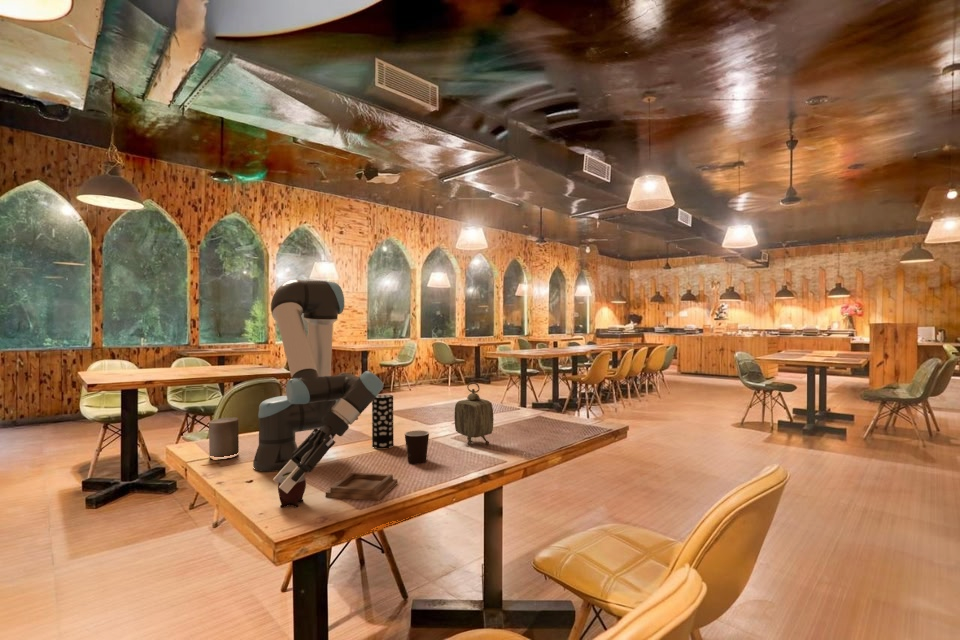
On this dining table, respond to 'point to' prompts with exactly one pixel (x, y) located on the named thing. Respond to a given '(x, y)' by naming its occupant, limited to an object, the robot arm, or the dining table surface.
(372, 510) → the dining table surface
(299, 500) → the mate gourd
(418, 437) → the coffee mug
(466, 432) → the tabletop clock
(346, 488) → the walnut stand
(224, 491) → the dining table surface
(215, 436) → the pillar candle
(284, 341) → the robot arm
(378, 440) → the spotted tube
